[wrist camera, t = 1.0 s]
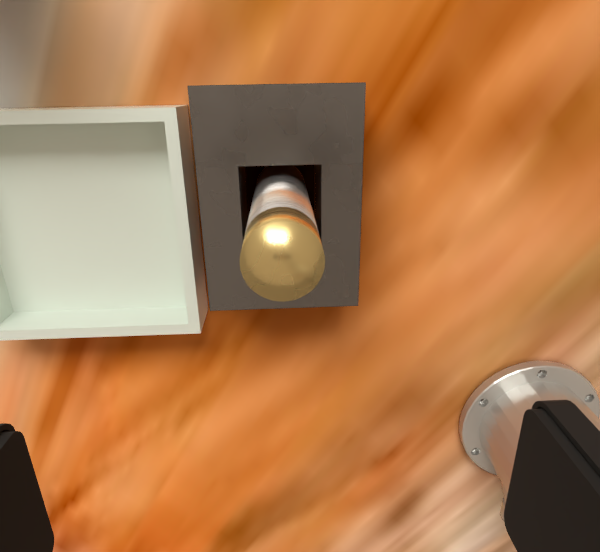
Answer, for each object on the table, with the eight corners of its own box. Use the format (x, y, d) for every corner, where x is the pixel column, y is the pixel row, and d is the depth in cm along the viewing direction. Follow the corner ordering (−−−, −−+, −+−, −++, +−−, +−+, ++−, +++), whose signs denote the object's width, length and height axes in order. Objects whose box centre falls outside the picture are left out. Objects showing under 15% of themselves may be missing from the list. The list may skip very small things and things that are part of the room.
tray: (208, 309, 38) (200, 333, 34) (12, 315, 37) (-17, 341, 34) (187, 104, 32) (175, 107, 28) (-45, 109, 32) (-89, 112, 28)
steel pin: (305, 210, 35) (324, 300, 20) (257, 211, 35) (242, 303, 20) (304, 161, 34) (325, 220, 19) (255, 162, 34) (236, 222, 19)
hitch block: (346, 272, 37) (358, 305, 32) (220, 276, 37) (209, 310, 31) (350, 82, 32) (365, 82, 26) (203, 85, 32) (187, 85, 26)
